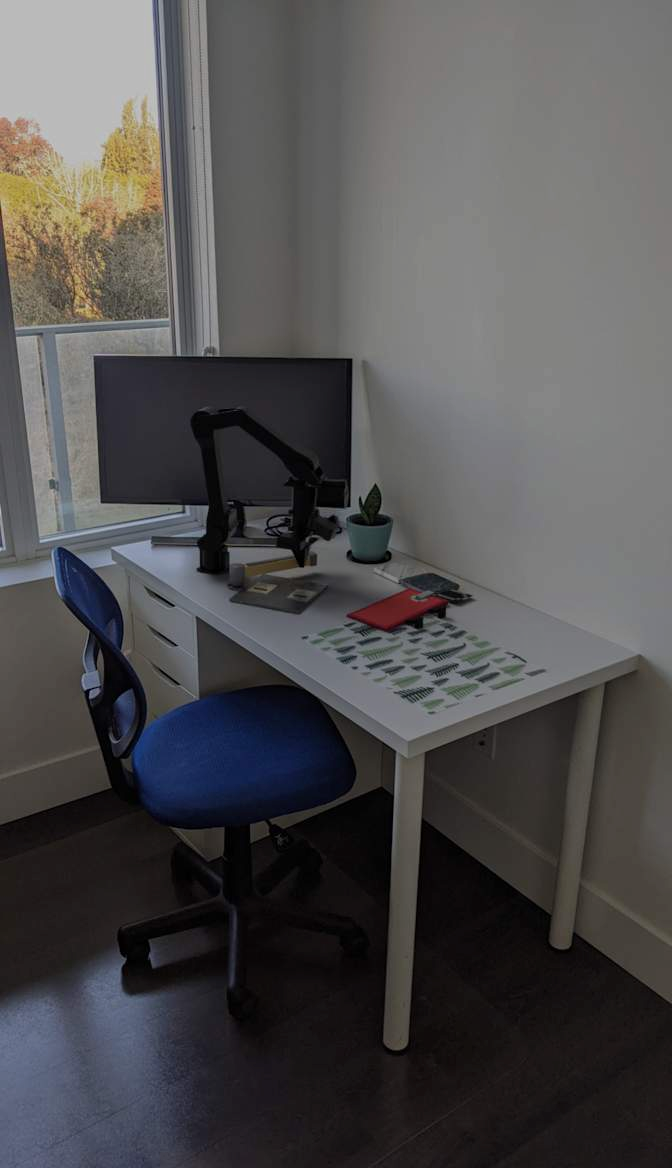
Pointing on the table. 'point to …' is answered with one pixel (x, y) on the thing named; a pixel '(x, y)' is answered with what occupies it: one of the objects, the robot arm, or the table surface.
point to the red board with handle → (406, 608)
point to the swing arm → (266, 567)
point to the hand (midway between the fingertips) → (301, 567)
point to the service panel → (278, 593)
